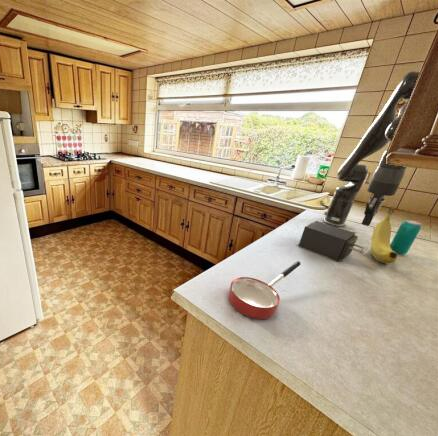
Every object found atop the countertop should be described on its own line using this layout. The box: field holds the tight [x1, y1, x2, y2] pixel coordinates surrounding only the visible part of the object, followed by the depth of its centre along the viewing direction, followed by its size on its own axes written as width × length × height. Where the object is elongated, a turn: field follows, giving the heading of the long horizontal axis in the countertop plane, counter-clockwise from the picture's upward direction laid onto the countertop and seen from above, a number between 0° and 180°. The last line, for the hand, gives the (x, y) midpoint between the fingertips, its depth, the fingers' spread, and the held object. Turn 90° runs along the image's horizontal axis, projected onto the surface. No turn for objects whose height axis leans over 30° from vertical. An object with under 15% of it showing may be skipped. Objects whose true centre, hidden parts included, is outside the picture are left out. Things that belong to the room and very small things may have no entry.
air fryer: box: [298, 220, 356, 262], centre depth 101 cm, size 15×13×10 cm
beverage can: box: [390, 219, 423, 257], centre depth 100 cm, size 6×6×15 cm
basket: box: [339, 234, 369, 261], centre depth 97 cm, size 18×11×8 cm, turn 37°
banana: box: [370, 206, 399, 265], centre depth 95 cm, size 23×6×20 cm, turn 149°
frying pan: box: [227, 260, 301, 320], centre depth 73 cm, size 32×13×6 cm, turn 130°
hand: (365, 224), depth 89 cm, fingers closed
